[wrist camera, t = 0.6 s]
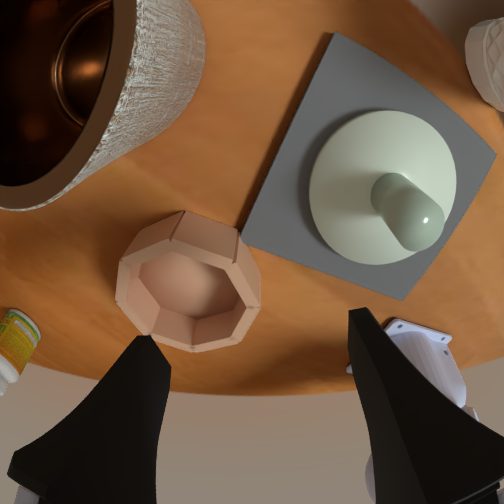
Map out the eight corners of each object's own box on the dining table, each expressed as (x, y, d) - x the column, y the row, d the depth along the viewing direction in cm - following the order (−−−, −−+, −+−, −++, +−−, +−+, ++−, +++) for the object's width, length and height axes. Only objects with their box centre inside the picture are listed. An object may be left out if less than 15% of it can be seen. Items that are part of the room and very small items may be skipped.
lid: (471, 162, 15) (515, 189, 11) (399, 275, 20) (424, 320, 16) (354, 77, 13) (391, 77, 9) (280, 226, 18) (286, 274, 14)
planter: (250, 45, 13) (238, -6, 5) (132, 180, 17) (45, 268, 9) (121, -39, 9) (28, -88, 1) (29, 93, 13) (-77, 129, 5)
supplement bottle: (15, 301, 24) (-27, 364, 16) (47, 333, 26) (12, 398, 18) (5, 315, 26) (-31, 371, 18) (34, 343, 28) (3, 401, 20)
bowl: (277, 243, 19) (279, 276, 16) (231, 329, 24) (227, 362, 21) (146, 196, 18) (125, 221, 15) (128, 294, 22) (112, 325, 19)
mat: (492, 151, 14) (497, 154, 14) (399, 296, 22) (402, 301, 21) (333, 33, 12) (335, 31, 11) (238, 236, 19) (237, 241, 19)
